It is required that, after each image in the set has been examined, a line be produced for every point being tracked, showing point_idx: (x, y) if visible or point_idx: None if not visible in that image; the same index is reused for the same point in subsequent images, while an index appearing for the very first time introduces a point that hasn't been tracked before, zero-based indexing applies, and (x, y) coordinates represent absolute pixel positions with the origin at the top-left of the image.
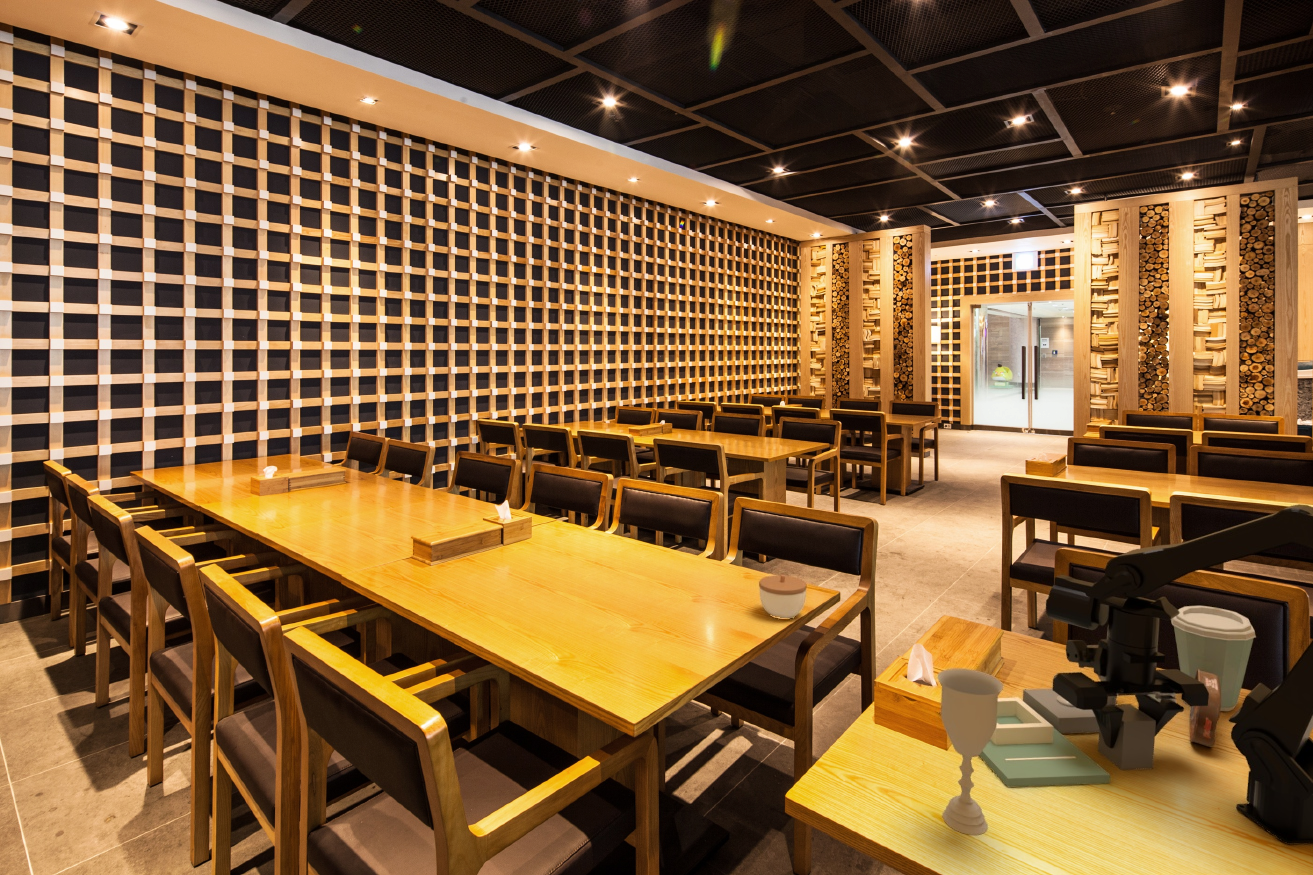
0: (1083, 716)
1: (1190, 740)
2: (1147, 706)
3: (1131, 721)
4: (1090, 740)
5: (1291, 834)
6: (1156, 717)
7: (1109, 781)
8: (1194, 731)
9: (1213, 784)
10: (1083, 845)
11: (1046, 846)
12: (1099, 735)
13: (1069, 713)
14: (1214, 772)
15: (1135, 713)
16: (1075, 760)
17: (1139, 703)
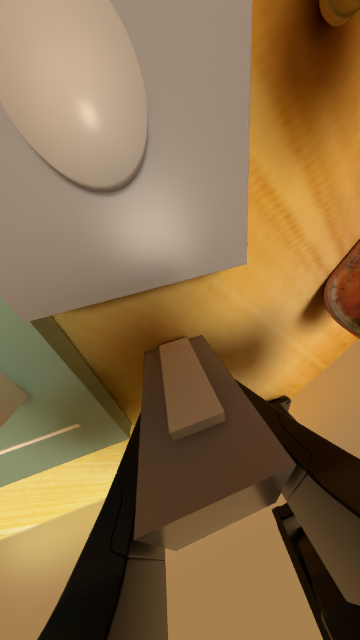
0: (131, 288)
1: (326, 288)
2: (326, 525)
3: (200, 537)
4: (143, 317)
5: None
6: (291, 500)
7: (130, 425)
8: (349, 330)
9: (256, 382)
10: (73, 500)
11: (35, 515)
12: (143, 382)
13: (76, 272)
14: (278, 358)
15: (249, 505)
16: (78, 430)
17: (327, 499)
